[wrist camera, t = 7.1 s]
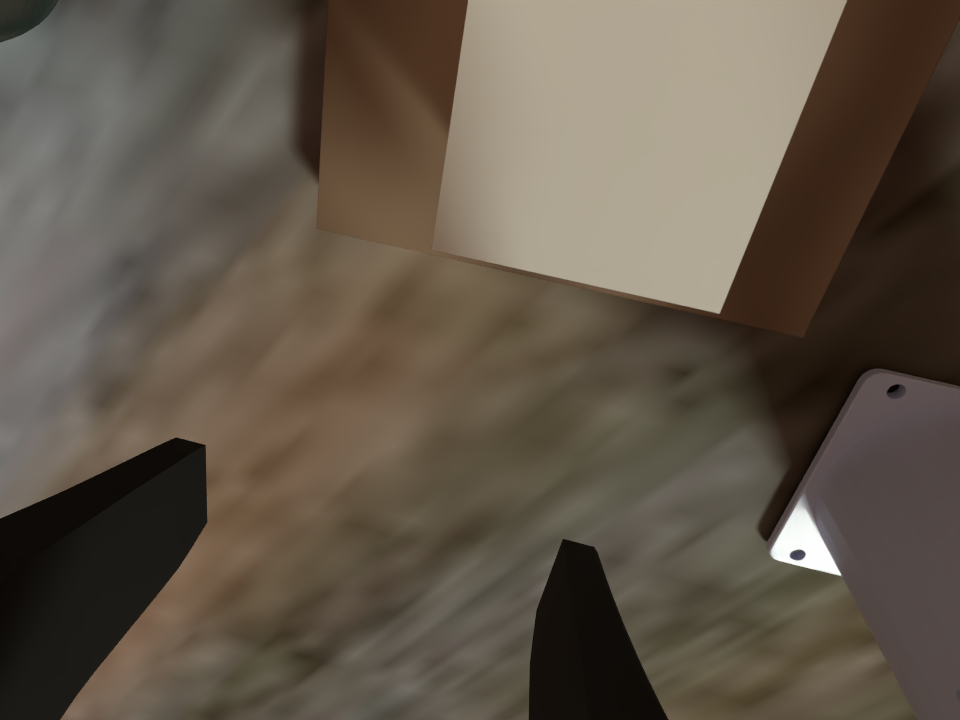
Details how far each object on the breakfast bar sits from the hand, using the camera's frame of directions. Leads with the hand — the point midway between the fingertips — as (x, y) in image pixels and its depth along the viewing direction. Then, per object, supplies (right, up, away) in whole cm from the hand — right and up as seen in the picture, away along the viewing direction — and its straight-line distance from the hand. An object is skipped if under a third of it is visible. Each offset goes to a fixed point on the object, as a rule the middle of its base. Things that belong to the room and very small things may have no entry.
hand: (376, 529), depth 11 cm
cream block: (+5, +9, +3) cm, 11 cm away
